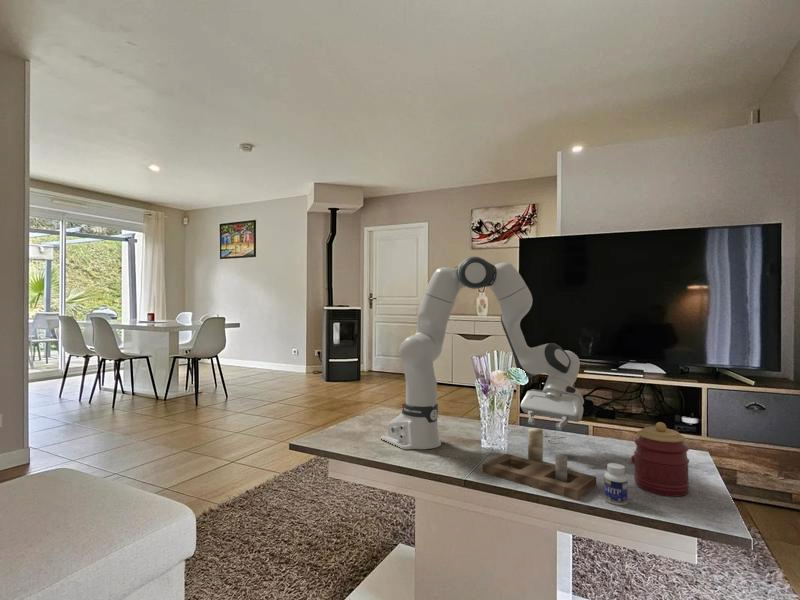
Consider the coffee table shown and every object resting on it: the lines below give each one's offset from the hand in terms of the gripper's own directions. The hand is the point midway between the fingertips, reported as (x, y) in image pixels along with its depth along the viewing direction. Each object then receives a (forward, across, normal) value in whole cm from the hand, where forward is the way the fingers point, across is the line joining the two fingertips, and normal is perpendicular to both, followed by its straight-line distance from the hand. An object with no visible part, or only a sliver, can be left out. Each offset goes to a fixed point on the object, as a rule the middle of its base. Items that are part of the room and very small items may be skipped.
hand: (543, 426), depth 146 cm
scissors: (-7, -13, +22) cm, 27 cm away
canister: (+8, +34, +6) cm, 36 cm away
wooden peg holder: (+21, +7, -6) cm, 23 cm away
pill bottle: (+21, +28, -6) cm, 35 cm away
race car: (-7, +26, +21) cm, 34 cm away
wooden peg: (+11, 0, +3) cm, 12 cm away
